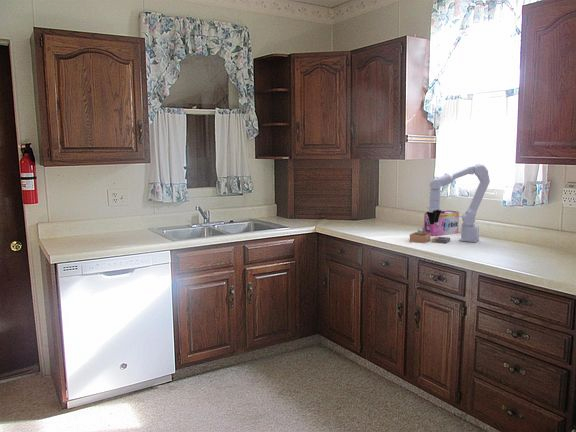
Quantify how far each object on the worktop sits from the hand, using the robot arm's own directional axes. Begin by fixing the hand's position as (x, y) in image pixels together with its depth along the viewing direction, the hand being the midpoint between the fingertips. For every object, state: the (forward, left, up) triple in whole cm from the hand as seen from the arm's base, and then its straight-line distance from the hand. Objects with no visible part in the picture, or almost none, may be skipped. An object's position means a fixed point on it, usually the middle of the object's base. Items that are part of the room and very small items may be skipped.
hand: (433, 223), depth 294 cm
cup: (+5, +9, -9) cm, 14 cm away
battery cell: (+5, +9, -9) cm, 13 cm away
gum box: (+2, -21, -10) cm, 23 cm away
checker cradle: (-6, +5, -9) cm, 12 cm away
